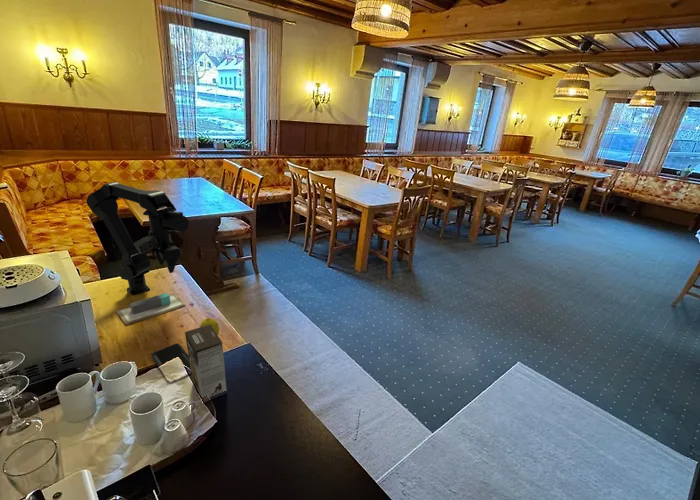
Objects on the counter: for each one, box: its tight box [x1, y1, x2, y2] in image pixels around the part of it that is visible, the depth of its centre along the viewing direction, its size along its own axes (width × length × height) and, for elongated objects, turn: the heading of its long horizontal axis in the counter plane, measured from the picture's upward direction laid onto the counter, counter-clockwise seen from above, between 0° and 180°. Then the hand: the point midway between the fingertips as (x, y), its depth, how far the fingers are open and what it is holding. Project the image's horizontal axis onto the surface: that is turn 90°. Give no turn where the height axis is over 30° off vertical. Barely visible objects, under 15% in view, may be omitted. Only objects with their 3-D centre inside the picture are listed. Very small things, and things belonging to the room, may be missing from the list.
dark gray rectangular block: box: [129, 292, 171, 315], centre depth 121 cm, size 3×12×3 cm, turn 136°
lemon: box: [199, 317, 220, 336], centre depth 106 cm, size 6×6×8 cm
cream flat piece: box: [115, 293, 186, 326], centre depth 122 cm, size 11×19×1 cm, turn 136°
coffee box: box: [184, 325, 228, 397], centre depth 86 cm, size 9×6×16 cm
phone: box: [150, 343, 190, 367], centre depth 97 cm, size 8×1×15 cm
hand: (166, 268), depth 126 cm, fingers open, 9 cm apart
